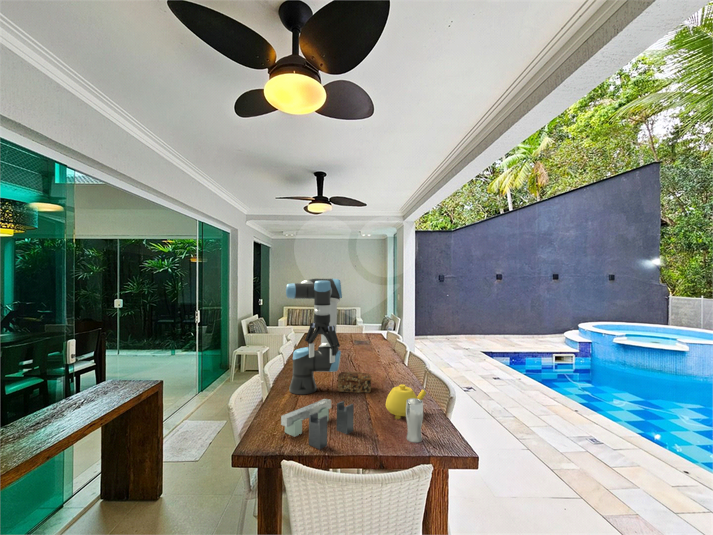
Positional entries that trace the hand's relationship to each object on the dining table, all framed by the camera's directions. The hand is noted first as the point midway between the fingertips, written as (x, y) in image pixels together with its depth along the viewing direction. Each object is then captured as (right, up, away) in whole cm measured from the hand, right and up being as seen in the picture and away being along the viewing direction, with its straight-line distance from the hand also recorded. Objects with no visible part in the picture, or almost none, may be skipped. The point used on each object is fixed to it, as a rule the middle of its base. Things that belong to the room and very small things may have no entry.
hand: (321, 359), depth 162 cm
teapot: (+40, -26, +2) cm, 48 cm away
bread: (+15, -27, +36) cm, 47 cm away
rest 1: (-10, -25, -19) cm, 33 cm away
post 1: (+1, -25, -29) cm, 38 cm away
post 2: (+11, -25, -16) cm, 32 cm away
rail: (-5, -21, -12) cm, 25 cm away
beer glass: (+39, -26, -23) cm, 52 cm away
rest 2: (0, -25, -6) cm, 26 cm away
